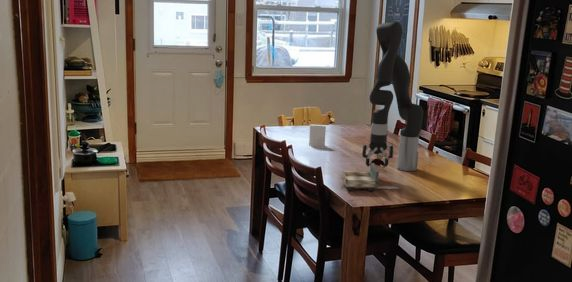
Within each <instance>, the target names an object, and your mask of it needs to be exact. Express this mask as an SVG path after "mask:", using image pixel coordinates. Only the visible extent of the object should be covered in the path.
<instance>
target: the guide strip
mask: <svg viewBox="0 0 572 282" xmlns="http://www.w3.org/2000/svg"><path fill="white" fill-rule="evenodd" d="M339 187H340V188H341V189H348V188H347V187H346V186H345V184H343V185H342V184H340V185H339ZM355 189H365V190H368V187H355ZM376 189H377V190H400V188H399V187H398V186H386V185H385V186H384V185H382V186H381V185H380V186H379V185H378V187H375V190H376Z"/></svg>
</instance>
